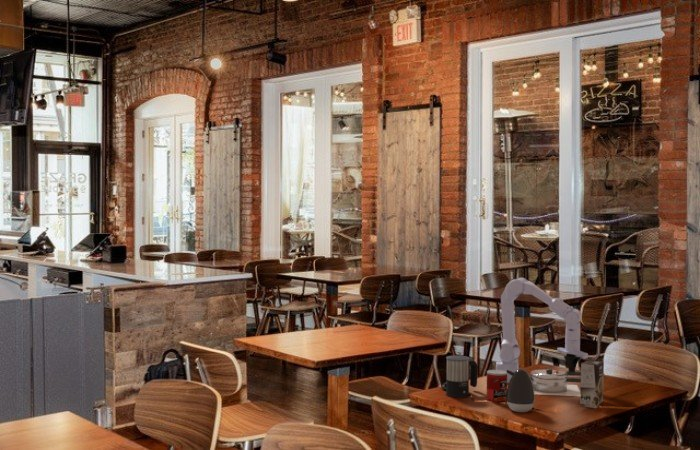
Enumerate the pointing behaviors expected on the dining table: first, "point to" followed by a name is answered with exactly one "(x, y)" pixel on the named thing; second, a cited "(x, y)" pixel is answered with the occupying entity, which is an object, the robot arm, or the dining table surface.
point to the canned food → (496, 385)
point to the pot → (552, 384)
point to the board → (571, 391)
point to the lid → (554, 374)
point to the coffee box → (591, 383)
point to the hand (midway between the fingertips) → (571, 373)
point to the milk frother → (460, 376)
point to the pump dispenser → (520, 391)
